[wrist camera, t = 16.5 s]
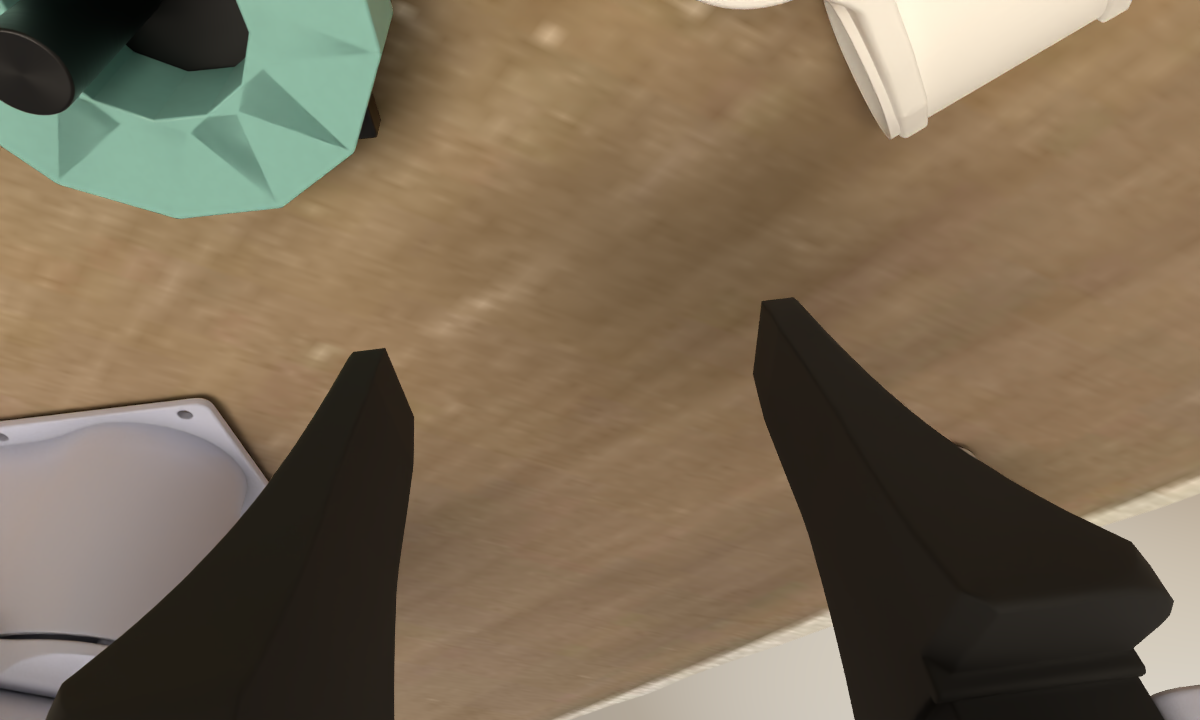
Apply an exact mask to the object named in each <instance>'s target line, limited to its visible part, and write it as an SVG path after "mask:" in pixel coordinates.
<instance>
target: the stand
mask: <svg viewBox="0 0 1200 720" xmlns="http://www.w3.org/2000/svg"><path fill="white" fill-rule="evenodd" d="M248 36H249V31H248V29H247V26H246V24H245V21H244V19H243V16H242V14H241V12H240V9H239V7H238V4H237V2H236V0H19V1H18V2H17V3H16V4H14V5H13V6H12V7H10V8H9V9H8V10H7V11H5V12H4V13H3V14H1V15H0V100H1V101H2V102H4V103H5V104H7V105H9V106H11V107H13V108H15V109H17V110H20V111H23V112H26V113H30V114H35V115H54V114H58V113H61V112H63V111H65V110H66V109H68V108H69V107H70V106H71V105H72V103H73V102H74V101H75V100H76V99H77V98H78V97H79V96H80V95H81V93H82V92H83V91H84V90H85V89H86V88H87V87H88V86H89V85H90V83H91V82H92V81H93V80H94V79H95V78H96V77H97V76H98V75H99V73H100V72H101V71H102V70H103V69H104V68H105V67H106V66H107V65H108V63H109V62H110V61H111V60H112V59H113V58H114V57H115V56H116V55H117V53H118V52H119V51H120V50H121V49H122V48H123V47H124V46H125V45H126V46H128V47H129V48H130V49H131V50H132V51H134V52H136V53H138V54H141V55H144V56H147V57H149V58H152V59H155V60H158V61H160V62H163V63H166V64H169V65H172V66H174V67H177V68H180V69H183V70H185V71H188V72H189V71H199V70H209V69H219V68H228V67H235V66H236V65H238V64H239V63H240V62H241V61H242V60H243V59H244V58H245V56H246V49H247V42H248ZM380 122H381V119H380V115H379V112H378V109H377V106H376V102H375V99H374V96H373V93H372V92H371V95H370V99H369V102H368V106H367V110H366V113H365V117H364V120H363V124H362V128H361V131H360V135H359V138H358V139H365V138H374V137H377V135H378V130H379V126H380Z"/></svg>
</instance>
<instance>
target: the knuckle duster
mask: <svg viewBox="0 0 1200 720" xmlns="http://www.w3.org/2000/svg"><path fill="white" fill-rule="evenodd" d="M697 1H700V2H702V3H705V4H709V5H712V6H716V7H721V8H728V9H759V8H766V7H771V6H775V5H779V4H783V3H786V2H789V1H792V0H697ZM1131 2H1132V0H824V5H825V8H826V12H827V15H828V18H829V21H830V23H831V26H832V29H833V32H834V34H835V37H836V39H837V42H838V44H839V46H840V49H841V51H842V53H843V56H844V58H845V60H846V62H847V65H848V67H849V69H850V71H851V73H852V75H853V77H854V79H855V82H856V84H857V86H858V88H859V90H860V92H861V94H862V96H863V98H864V100H865V101H866V103H867V105H868V107H869V109H870V111H871V113H872V115H873V117H874V118H875V120H876V122H877V123H878V125H879V127H880V128H881V130H882V131H883V133H884V134H885V135H886V136H887V138H888V139H890V140H891V139H892V138H894V137H896V136H898V135H900V136H901V137H903V138H908V137H909V136H911V135H913V134H915V133H916V132H918V131H920V130H921V129H923V128H925V127H926V126H927V124H928V117H930V116H932V115H934V114H935V113H937V112H939V111H940V110H942V109H944V108H946V107H947V106H949V105H951V104H952V103H954V102H956V101H958V100H959V99H961V98H963V97H964V96H966V95H968V94H970V93H971V92H973V91H975V90H976V89H978V88H980V87H981V86H983V85H985V84H987V83H988V82H990V81H992V80H993V79H995V78H997V77H999V76H1000V75H1002V74H1004V73H1005V72H1007V71H1009V70H1011V69H1012V68H1014V67H1016V66H1017V65H1019V64H1021V63H1023V62H1024V61H1026V60H1028V59H1029V58H1031V57H1033V56H1034V55H1036V54H1038V53H1040V52H1041V51H1043V50H1045V49H1046V48H1048V47H1050V46H1052V45H1053V44H1055V43H1057V42H1058V41H1060V40H1062V39H1063V38H1065V37H1067V36H1069V35H1070V34H1072V33H1074V32H1075V31H1077V30H1079V29H1081V28H1082V27H1084V26H1086V25H1087V24H1089V23H1091V22H1092V21H1094V20H1096V19H1097V20H1099V21H1100V22H1106V21H1108V20H1110V19H1112V18H1113V17H1115V16H1117V15H1118V14H1120V13H1122V12H1124V11H1125V10H1127V9H1128V8H1129V6H1130V4H1131Z"/></svg>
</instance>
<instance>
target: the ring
mask: <svg viewBox="0 0 1200 720" xmlns="http://www.w3.org/2000/svg"><path fill="white" fill-rule="evenodd" d="M18 1H19V0H0V15H1V14H3V13H4V12H5V11H7V10H8V9H9V8H10V7H12V6H13V5H14V4H16V3H17V2H18ZM236 2H237V4H238V7H239V9H240V12H241V14H242V16H243V19H244V21H245V24H246V26H247V29H248V31H249V36H248V42H247V49H246V56H245V58H244V59H243V60H242V61H241V62H240V63H239V64H238V65H236V66H235V67H228V68H219V69H209V70H199V71H189V72H188V71H185V70H183V69H180V68H177V67H174V66H172V65H169V64H166V63H163V62H160V61H158V60H155V59H152V58H149V57H147V56H144V55H141V54H138V53H136V52H134V51H132V50H131V49H130V48H129V47H128V46H126V45H125V46H124V47H123V48H122V49H121V50H120V51H119V52H118V53H117V55H116V56H115V57H114V58H113V59H112V60H111V61H110V62H109V63H108V65H107V66H106V67H105V68H104V69H103V70H102V71H101V72H100V73H99V75H98V76H97V77H96V78H95V79H94V80H93V81H92V82H91V83H90V85H89V86H88V87H87V88H86V89H85V90H84V91H83V92H82V93H81V95H80V96H79V97H78V98H77V99H76V100H75V101H74V102H73V103H72V105H71V106H70V107H69V108H68V109H66V110H65V111H63V112H61V113H58V114H54V115H35V114H30V113H26V112H23V111H20V110H17V109H15V108H13V107H11V106H9V105H7V104H5V103H4V102H2V101H1V100H0V146H2V147H3V148H5V149H6V150H8V151H9V152H11V153H12V154H14V155H15V156H17V157H18V158H20V159H21V160H23V161H24V162H26V163H27V164H28V165H30V166H31V167H33V168H34V169H36V170H37V171H39V172H40V173H42V174H43V175H45V176H46V177H48V178H49V179H51V180H52V181H54V182H55V183H57V184H59V185H62V186H65V187H69V188H72V189H76V190H79V191H83V192H86V193H90V194H93V195H97V196H100V197H104V198H107V199H111V200H114V201H118V202H121V203H124V204H128V205H131V206H135V207H138V208H142V209H145V210H149V211H152V212H156V213H159V214H163V215H166V216H170V217H173V218H176V219H183V218H192V217H201V216H211V215H220V214H229V213H238V212H248V211H257V210H266V209H275V208H282V207H284V206H285V205H286V204H287V203H289V202H290V201H291V200H293V199H294V198H295V197H297V196H298V195H299V194H301V193H302V192H303V191H305V190H306V189H307V188H308V187H310V186H311V185H312V184H314V183H315V182H316V181H318V180H319V179H320V178H322V177H323V176H324V175H325V174H327V173H328V172H329V171H331V170H332V169H333V168H335V167H336V166H337V165H339V164H340V163H341V162H343V161H344V160H345V159H346V158H348V157H349V156H350V155H352V154H353V153H354V151H355V149H356V145H357V142H358V138H359V135H360V131H361V128H362V124H363V120H364V117H365V113H366V110H367V106H368V102H369V99H370V95H371V92H372V88H373V85H374V81H375V77H376V74H377V70H378V67H379V63H380V59H381V56H382V52H383V49H384V45H385V41H386V37H387V34H388V30H389V26H390V23H391V19H392V15H393V11H392V10H393V8H392V4H391V1H390V0H236Z"/></svg>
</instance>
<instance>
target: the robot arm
mask: <svg viewBox="0 0 1200 720" xmlns="http://www.w3.org/2000/svg"><path fill="white" fill-rule="evenodd" d="M753 376H754V380H755V384H756V388H757V393H758V397H759V401H760V404H761V408H762V412H763V416H764V420H765V422H766V425H767V428H768V430H769V433H770V436H771V438H772V441H773V443H774V446H775V448H776V451H777V454H778V456H779V459H780V461H781V464H782V466H783V469H784V471H785V474H786V476H787V479H788V481H789V484H790V486H791V489H792V491H793V494H794V497H795V499H796V502H797V504H798V507H799V509H800V512H801V514H802V517H803V520H804V523H805V526H806V529H807V531H808V534H809V537H810V541H811V545H812V548H813V552H814V555H815V559H816V563H817V566H818V570H819V573H820V577H821V580H822V584H823V588H824V592H825V596H826V600H827V604H828V607H829V611H830V615H831V619H832V623H833V627H834V631H835V635H836V639H837V643H838V648H839V652H840V656H841V660H842V664H843V668H844V673H845V677H846V681H847V686H848V691H849V695H850V700H851V704H852V709H853V714H854V718H855V720H1200V685H1194V686H1187V687H1179V688H1174V689H1170V690H1165V691H1162V692H1159V693H1156V694H1154V695H1152V696H1150V695H1149V693H1148V692H1147V690H1146V689H1145V687H1144V685H1143V684H1142V682H1141V680H1140V679H1139V676H1143V675H1144V674H1145V673H1146V669H1145V666H1144V664H1143V663H1142V661H1141V659H1140V658H1139V656H1138V655H1137V653H1136V652H1135V650H1134V647H1135V646H1136V645H1137V644H1139V643H1140V642H1141V641H1142V640H1143V639H1144V638H1145V637H1147V636H1148V635H1149V634H1150V633H1152V632H1153V631H1154V630H1155V629H1156V628H1157V627H1159V626H1160V625H1161V624H1162V623H1163V622H1164V621H1165V620H1166V619H1167V618H1168V616H1169V615H1170V613H1171V610H1172V606H1173V602H1174V601H1173V599H1172V597H1171V596H1170V595H1169V593H1168V592H1167V590H1166V589H1165V587H1164V586H1163V584H1162V583H1161V581H1160V580H1159V578H1158V577H1157V575H1156V574H1155V572H1154V571H1153V569H1152V568H1151V566H1150V565H1149V564H1148V562H1147V561H1146V560H1145V559H1144V557H1143V556H1142V555H1141V553H1140V552H1139V551H1138V550H1137V548H1136V547H1135V546H1134V545H1133V543H1132V542H1130V541H1128V540H1126V539H1124V538H1122V537H1120V536H1118V535H1116V534H1114V533H1111V532H1109V531H1107V530H1105V529H1103V528H1101V527H1099V526H1097V525H1095V524H1093V523H1091V522H1088V521H1086V520H1084V519H1082V518H1080V517H1078V516H1076V515H1074V514H1072V513H1070V512H1068V511H1066V510H1064V509H1062V508H1060V507H1058V506H1056V505H1054V504H1053V503H1051V502H1049V501H1047V500H1045V499H1043V498H1042V497H1040V496H1038V495H1036V494H1034V493H1032V492H1030V491H1029V490H1027V489H1025V488H1023V487H1022V486H1020V485H1018V484H1017V483H1015V482H1013V481H1011V480H1010V479H1008V478H1006V477H1005V476H1003V475H1002V474H1000V473H998V472H997V471H995V470H994V469H992V468H990V467H989V466H987V465H986V464H984V463H982V462H981V461H979V460H978V459H976V458H974V457H973V456H971V455H970V454H968V453H967V452H965V451H964V450H962V449H961V448H959V447H958V446H956V445H955V444H954V443H952V442H951V441H949V440H948V439H947V438H945V437H944V436H942V435H941V434H940V433H938V432H937V431H936V430H934V429H933V428H932V427H930V426H929V425H928V424H926V423H925V422H924V421H923V420H921V419H920V418H919V417H918V416H916V415H915V414H914V413H913V412H911V411H910V410H909V409H908V408H907V407H905V406H904V405H903V404H902V403H901V402H899V401H898V400H897V399H896V398H895V397H894V396H893V395H891V394H890V393H889V392H888V391H887V390H886V389H884V388H883V387H882V386H881V385H880V384H879V383H878V382H877V381H876V380H875V379H873V378H872V377H871V376H870V375H869V374H868V373H867V372H866V371H865V370H864V369H863V368H862V367H861V366H860V365H859V364H858V363H857V362H856V361H855V360H854V359H853V358H852V357H851V356H850V355H849V354H848V353H847V352H846V351H845V350H844V349H843V348H842V347H841V346H840V345H839V344H838V343H837V342H836V341H835V340H834V339H833V338H832V337H831V336H830V335H829V334H828V333H827V332H826V331H825V330H824V329H823V328H822V327H821V325H820V324H819V323H818V322H817V321H816V320H815V319H814V318H813V317H812V316H811V315H810V314H809V312H808V311H807V310H806V309H805V308H804V307H803V306H802V305H801V304H800V303H799V302H798V301H797V300H796V299H795V298H794V297H792V298H784V299H776V300H768V301H762V304H761V312H760V321H759V329H758V337H757V345H756V354H755V362H754V370H753ZM413 461H414V416H413V413H412V411H411V409H410V406H409V404H408V402H407V399H406V397H405V394H404V392H403V390H402V387H401V385H400V382H399V380H398V378H397V375H396V373H395V370H394V368H393V366H392V363H391V361H390V358H389V356H388V354H387V351H386V349H385V348H382V349H374V350H366V351H358V352H353V353H352V354H351V355H350V357H349V358H348V360H347V362H346V363H345V365H344V367H343V368H342V370H341V372H340V374H339V375H338V377H337V379H336V380H335V382H334V384H333V385H332V387H331V389H330V391H329V392H328V394H327V396H326V397H325V399H324V400H323V402H322V404H321V405H320V407H319V409H318V410H317V412H316V414H315V415H314V417H313V418H312V420H311V421H310V423H309V424H308V426H307V428H306V429H305V431H304V432H303V434H302V435H301V437H300V438H299V440H298V442H297V443H296V445H295V446H294V447H293V449H292V450H291V452H290V453H289V455H288V456H287V457H286V459H285V460H284V462H283V463H282V464H281V466H280V467H279V469H278V470H277V471H276V473H275V474H274V476H273V477H272V478H271V480H270V481H269V482H268V480H267V479H266V478H265V476H264V475H263V473H262V472H261V471H260V469H259V468H258V466H257V465H256V464H255V462H254V461H253V459H252V458H251V457H250V455H249V454H248V452H247V451H246V450H245V448H244V447H243V445H242V444H241V442H240V441H239V440H238V438H237V437H236V435H235V434H234V433H233V431H232V430H231V428H230V427H229V426H228V424H227V423H226V421H225V420H224V419H223V417H222V416H221V414H220V413H219V412H218V410H217V409H216V407H215V406H214V405H213V404H212V403H211V402H210V401H208V400H206V399H203V398H191V399H182V400H174V401H166V402H157V403H149V404H141V405H132V406H124V407H115V408H107V409H99V410H90V411H82V412H74V413H65V414H57V415H48V416H40V417H32V418H23V419H15V420H7V421H0V720H394V656H395V619H396V592H397V581H398V571H399V563H400V556H401V549H402V542H403V536H404V529H405V522H406V515H407V508H408V501H409V494H410V487H411V479H412V472H413Z"/></svg>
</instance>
